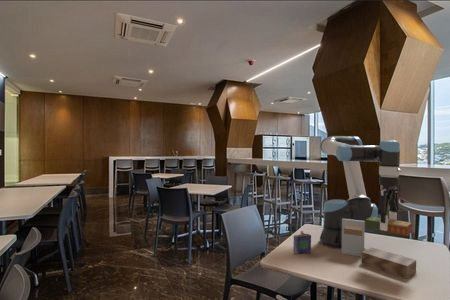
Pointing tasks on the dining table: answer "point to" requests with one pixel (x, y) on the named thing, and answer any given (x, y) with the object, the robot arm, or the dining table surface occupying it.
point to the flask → (302, 244)
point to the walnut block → (389, 262)
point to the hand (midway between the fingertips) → (388, 228)
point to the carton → (390, 226)
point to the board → (352, 237)
